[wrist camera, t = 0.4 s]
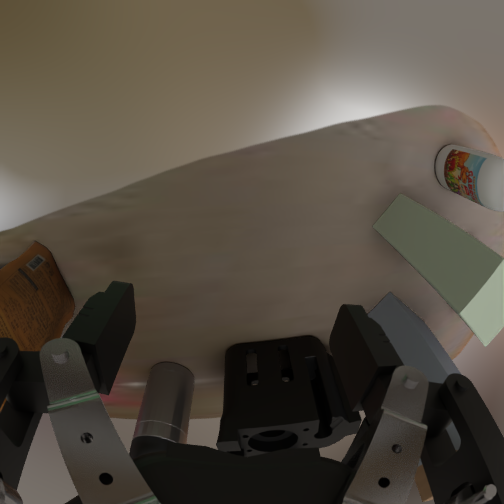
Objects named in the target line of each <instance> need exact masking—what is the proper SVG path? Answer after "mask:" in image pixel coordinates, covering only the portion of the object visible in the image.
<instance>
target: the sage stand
mask: <svg viewBox="0 0 504 504" xmlns="http://www.w3.org/2000/svg"><path fill="white" fill-rule="evenodd" d="M372 227H373V228H374V229H375V230H376V231H377V232H378V233H379V234H380V235H381V236H382V237H383V238H385V239H386V240H387V241H388V242H389V243H390V244H391V245H392V246H393V247H394V248H395V249H396V250H397V251H398V252H399V253H400V254H401V255H402V256H403V257H404V258H405V259H406V260H407V261H408V262H409V263H410V264H411V265H412V266H413V267H414V268H415V269H416V270H417V271H418V272H419V273H420V274H421V275H422V277H423V278H424V279H425V280H426V281H427V282H428V283H429V284H430V285H431V286H432V287H433V288H434V289H435V290H436V291H437V292H438V293H439V294H440V295H441V296H442V298H443V299H444V300H445V301H446V302H447V303H448V304H449V305H450V306H451V307H452V309H453V310H454V311H455V312H456V313H457V314H458V315H459V316H460V318H461V319H462V320H463V321H464V322H465V323H466V324H467V326H468V327H469V328H470V329H471V330H472V332H473V333H474V334H475V335H476V336H477V337H478V339H479V340H480V341H481V342H482V344H483V345H484V346H485V347H486V346H487V345H488V344H489V342H491V341H492V339H493V338H494V337H495V336H496V335H497V334H498V333H499V332H500V330H501V329H502V328H503V327H504V258H503V257H501V256H500V255H499V254H497V253H496V252H494V251H493V250H492V249H490V248H489V247H487V246H486V245H484V244H483V243H482V242H480V241H479V240H477V239H476V238H474V237H473V236H471V235H470V234H468V233H467V232H465V231H464V230H462V229H460V228H459V227H457V226H456V225H454V224H453V223H451V222H449V221H448V220H446V219H444V218H443V217H441V216H440V215H438V214H436V213H435V212H433V211H431V210H429V209H428V208H426V207H424V206H423V205H421V204H419V203H417V202H415V201H414V200H412V199H410V198H408V197H406V196H405V195H403V194H401V193H400V194H399V195H398V196H397V198H396V199H395V200H394V201H393V202H392V204H391V205H390V206H389V207H388V209H387V210H386V211H385V212H384V213H383V214H382V216H381V217H380V218H379V219H378V220H377V222H376V223H375V224H374V225H373V226H372Z"/></svg>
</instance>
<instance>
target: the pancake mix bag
mask: <svg viewBox="0 0 504 504" xmlns="http://www.w3.org/2000/svg"><path fill="white" fill-rule="evenodd" d="M74 309H75V303H74V299H73V297H72V295H71V294H70V292H69V290H68V288H67V286H66V284H65V282H64V280H63V278H62V276H61V274H60V272H59V270H58V268H57V266H56V263H55V261H54V259H53V256H52V254H51V252H50V251H49V250H48V249H47V248H46V247H45V246H43V245H41V244H40V243H38V242H36V241H33V243H32V244H31V246H30V247H29V248H28V249H27V250H26V251H25V252H24V253H23V254H22V255H21V256H20V257H19V258H17V259H16V260H14V261H12V262H10V263H8V264H7V265H6V266H5V267H3V268H2V269H0V338H3V337H7V338H11V339H13V340H14V341H15V342H16V343H17V345H18V347H19V350H20V351H41V348H42V347H43V346H44V345H45V344H46V343H47V342H49V341H51V340H53V339H56V338H60V337H61V334H62V331H63V328H64V326H65V324H66V323H67V322H68V321H69V320H70V319H72V318H73V312H74ZM6 400H7V399H6V398H5V400H4V402H3V404H2V406H1V408H0V412H1V410H2V408H3V406H4V404H5V402H6Z"/></svg>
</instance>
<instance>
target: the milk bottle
mask: <svg viewBox="0 0 504 504" xmlns="http://www.w3.org/2000/svg"><path fill="white" fill-rule="evenodd" d="M435 171H436V176H437V179H438V180H439V182H440V184H441V185H442V186H443V187H444V188H446V189H448V190H450V191H452V192H454V193H457V194H459V195H461V196H463V197H465V198H467V199H469V200H471V201H473V202H475V203H478V204H480V205H482V206H484V207H486V208H488V209H491V210H494V211H504V159H503V158H501V157H499V156H496V155H493V154H490V153H486V152H483V151H479V150H475V149H472V148H468V147H463V146H459V145H453V144H451V145H447V146H445V147H444V148H443V149H442V150H441V151H440V152H439V154H438V156H437V159H436V164H435Z"/></svg>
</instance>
